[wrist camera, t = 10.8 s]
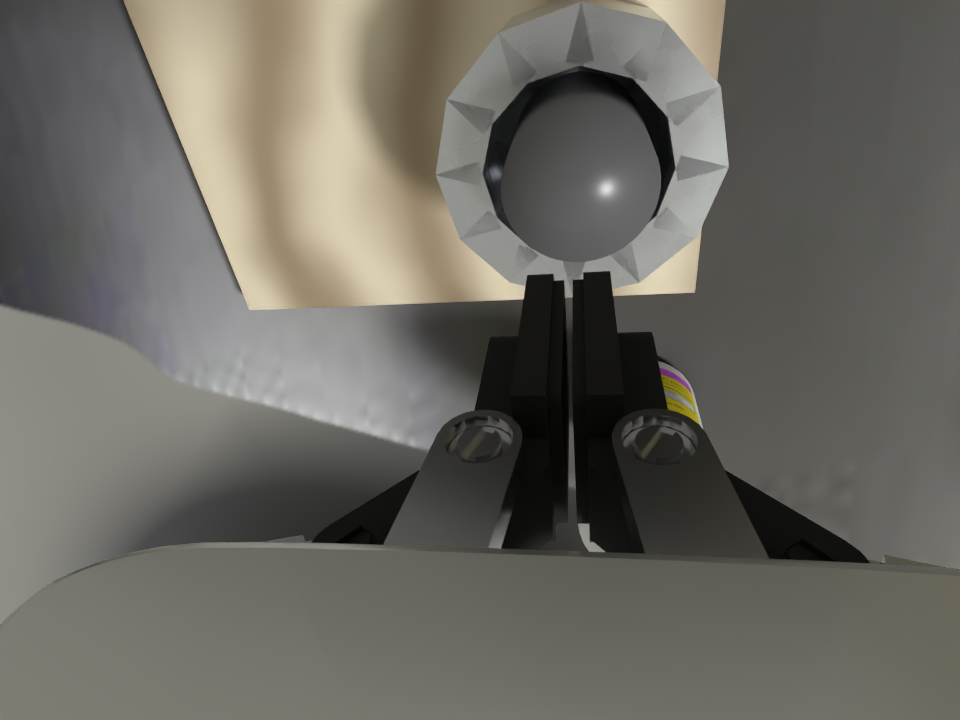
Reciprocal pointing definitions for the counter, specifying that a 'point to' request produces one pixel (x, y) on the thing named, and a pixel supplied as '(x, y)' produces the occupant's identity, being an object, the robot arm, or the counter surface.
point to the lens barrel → (661, 101)
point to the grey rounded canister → (580, 169)
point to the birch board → (348, 139)
